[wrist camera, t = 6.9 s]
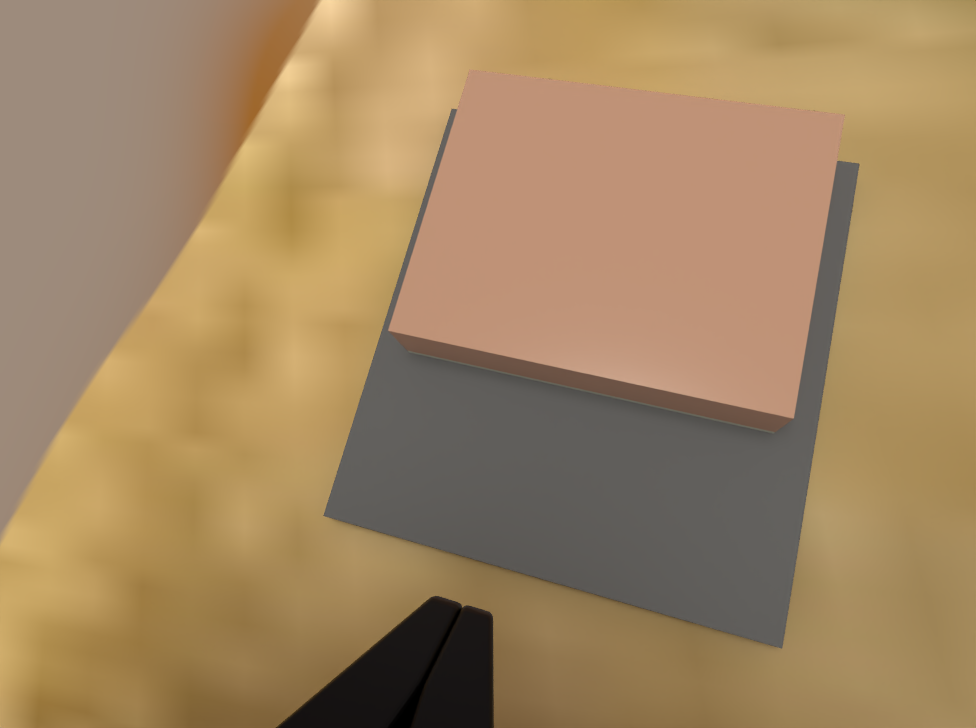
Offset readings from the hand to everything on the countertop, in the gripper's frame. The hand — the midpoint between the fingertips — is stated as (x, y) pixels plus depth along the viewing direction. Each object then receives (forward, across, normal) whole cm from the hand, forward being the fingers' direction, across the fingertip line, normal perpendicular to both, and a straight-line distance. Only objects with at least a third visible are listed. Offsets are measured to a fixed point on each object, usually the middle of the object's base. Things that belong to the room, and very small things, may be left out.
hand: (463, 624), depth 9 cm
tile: (+9, 0, +2) cm, 9 cm away
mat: (+11, 0, +2) cm, 12 cm away
